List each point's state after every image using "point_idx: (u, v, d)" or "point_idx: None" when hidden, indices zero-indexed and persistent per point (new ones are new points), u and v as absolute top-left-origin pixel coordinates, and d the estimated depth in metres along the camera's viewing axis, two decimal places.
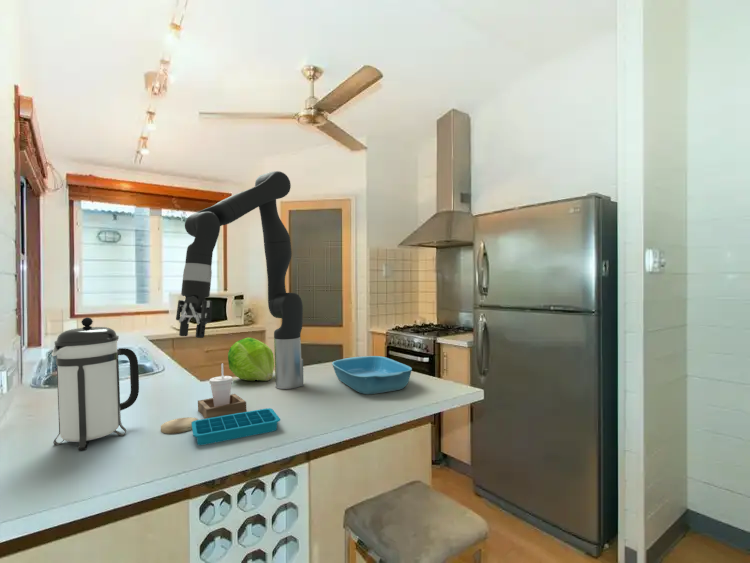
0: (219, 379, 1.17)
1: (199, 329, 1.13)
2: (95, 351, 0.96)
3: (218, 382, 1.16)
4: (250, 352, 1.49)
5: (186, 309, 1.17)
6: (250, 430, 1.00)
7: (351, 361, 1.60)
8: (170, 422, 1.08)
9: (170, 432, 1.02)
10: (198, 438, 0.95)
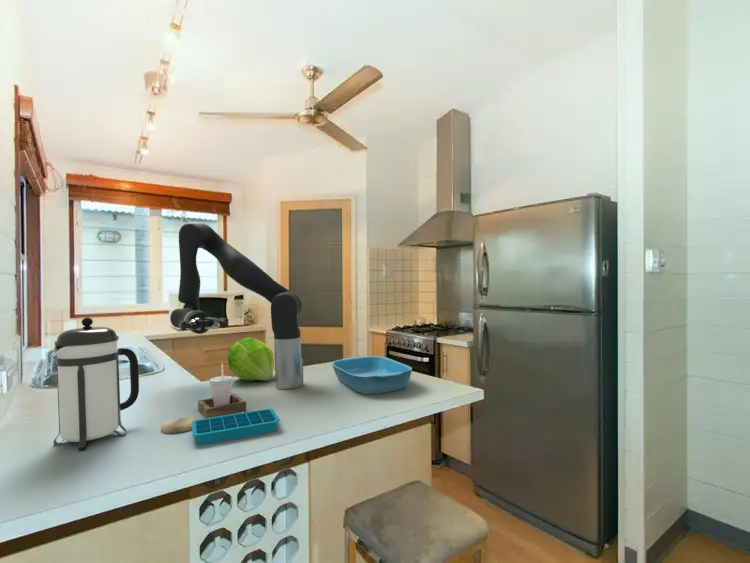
0: (219, 379, 1.17)
1: (191, 328, 1.26)
2: (95, 351, 0.96)
3: (218, 382, 1.16)
4: (250, 352, 1.49)
5: (208, 327, 1.34)
6: (249, 430, 0.99)
7: (350, 361, 1.60)
8: (170, 422, 1.08)
9: (170, 432, 1.02)
10: (197, 438, 0.95)
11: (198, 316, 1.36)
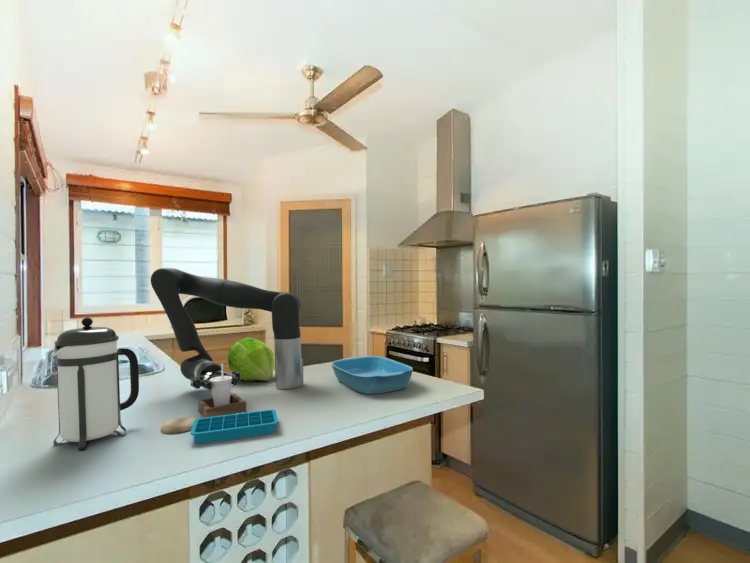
0: (219, 379, 1.17)
1: None
2: (95, 351, 0.96)
3: (218, 382, 1.16)
4: (250, 352, 1.49)
5: None
6: (247, 431, 0.99)
7: (349, 361, 1.59)
8: (170, 422, 1.08)
9: (170, 432, 1.02)
10: (195, 436, 0.96)
11: (210, 369, 1.26)
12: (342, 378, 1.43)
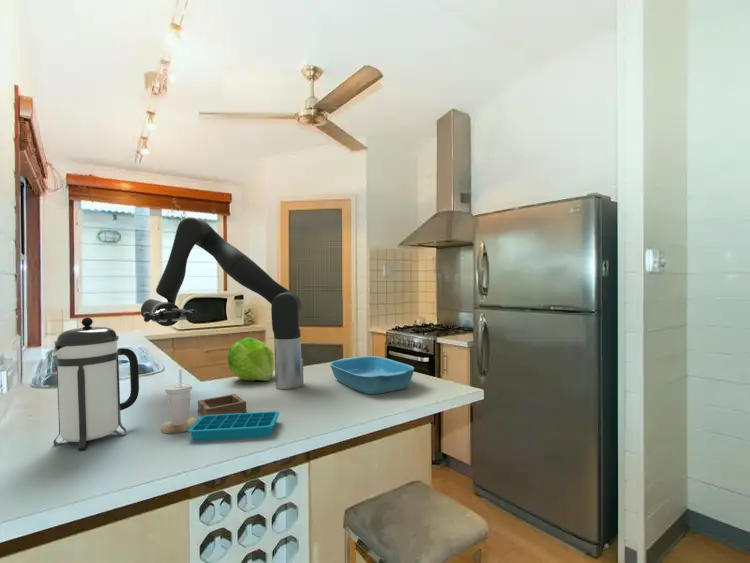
0: (176, 387, 1.06)
1: (154, 320, 1.18)
2: (95, 351, 0.96)
3: (174, 391, 1.04)
4: (250, 352, 1.49)
5: (175, 319, 1.26)
6: (242, 432, 0.98)
7: (347, 361, 1.59)
8: (170, 422, 1.08)
9: (170, 432, 1.02)
10: (192, 434, 0.98)
11: (165, 307, 1.28)
12: (343, 378, 1.42)
